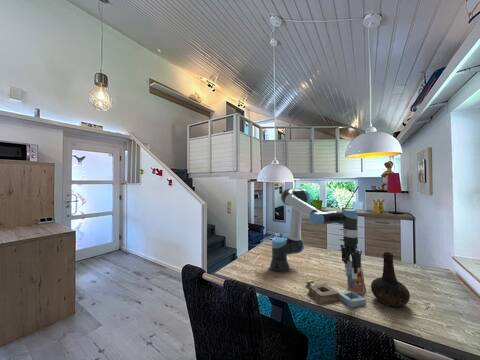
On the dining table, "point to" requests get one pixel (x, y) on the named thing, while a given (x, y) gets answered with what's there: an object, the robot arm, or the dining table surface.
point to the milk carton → (359, 283)
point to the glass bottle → (390, 285)
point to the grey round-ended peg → (350, 274)
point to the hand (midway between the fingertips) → (351, 276)
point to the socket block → (323, 293)
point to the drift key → (310, 283)
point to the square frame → (353, 302)
